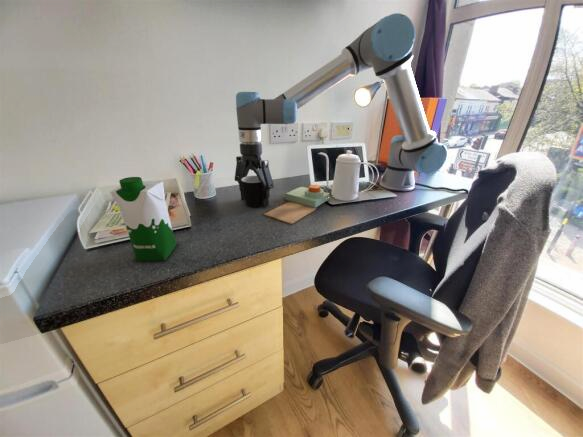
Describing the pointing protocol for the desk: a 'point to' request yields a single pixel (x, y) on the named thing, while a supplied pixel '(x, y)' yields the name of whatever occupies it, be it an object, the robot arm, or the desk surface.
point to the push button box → (307, 197)
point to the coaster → (290, 212)
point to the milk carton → (145, 218)
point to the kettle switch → (314, 188)
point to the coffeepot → (346, 176)
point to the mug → (252, 191)
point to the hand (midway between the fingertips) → (254, 202)
